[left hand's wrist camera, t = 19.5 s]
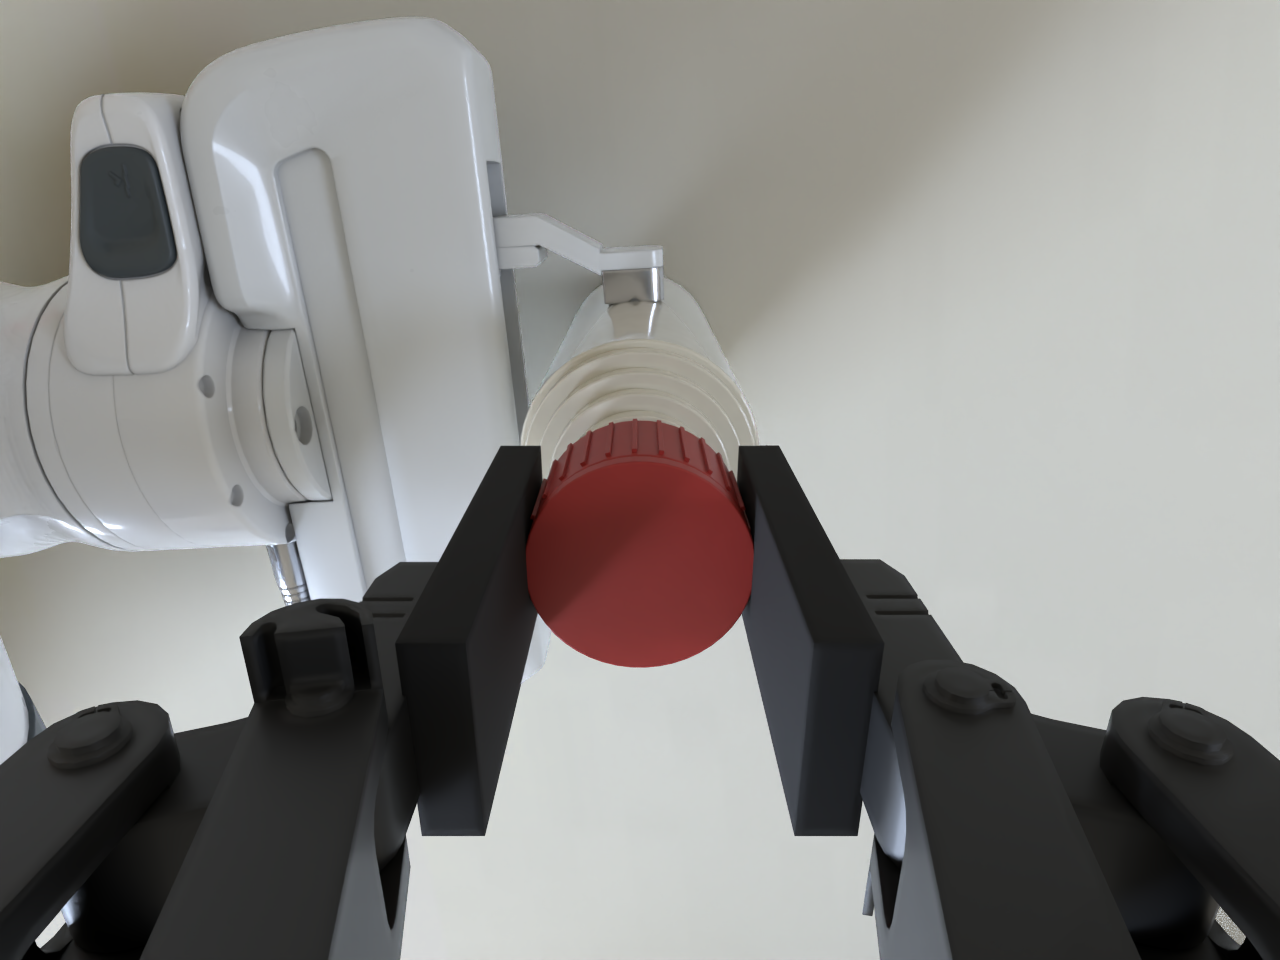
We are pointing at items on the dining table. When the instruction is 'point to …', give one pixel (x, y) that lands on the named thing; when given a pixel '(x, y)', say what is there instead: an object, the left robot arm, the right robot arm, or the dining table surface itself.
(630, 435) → the cap
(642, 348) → the bottle
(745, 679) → the dining table surface
